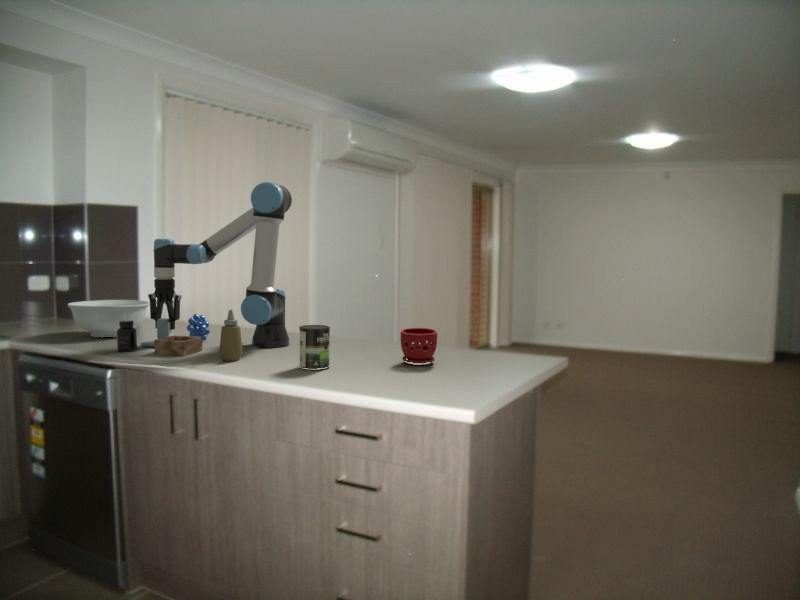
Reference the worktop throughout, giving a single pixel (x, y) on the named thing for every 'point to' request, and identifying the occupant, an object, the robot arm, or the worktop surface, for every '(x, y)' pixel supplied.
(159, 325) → the lid
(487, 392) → the worktop surface
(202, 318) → the grapes
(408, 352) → the plant pot
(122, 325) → the supplement bottle
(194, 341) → the box
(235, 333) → the squeeze bottle
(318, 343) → the coffee can
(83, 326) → the bowl
